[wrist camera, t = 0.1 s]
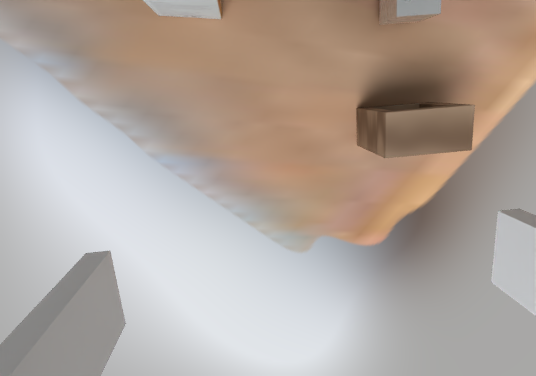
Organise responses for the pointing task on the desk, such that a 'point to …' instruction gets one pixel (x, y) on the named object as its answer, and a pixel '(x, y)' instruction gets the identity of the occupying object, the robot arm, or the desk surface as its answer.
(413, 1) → the teal-ended white column
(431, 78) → the desk surface
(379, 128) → the socket
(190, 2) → the small box
